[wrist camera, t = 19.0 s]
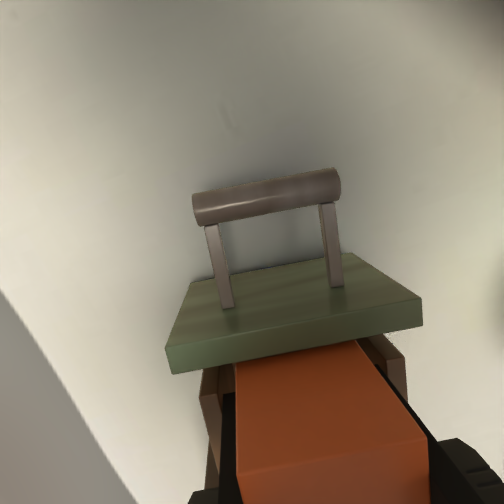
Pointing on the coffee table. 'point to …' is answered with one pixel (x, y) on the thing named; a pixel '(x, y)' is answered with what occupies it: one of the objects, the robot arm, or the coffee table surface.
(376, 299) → the drawer
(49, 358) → the coffee table surface
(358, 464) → the block
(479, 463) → the robot arm
